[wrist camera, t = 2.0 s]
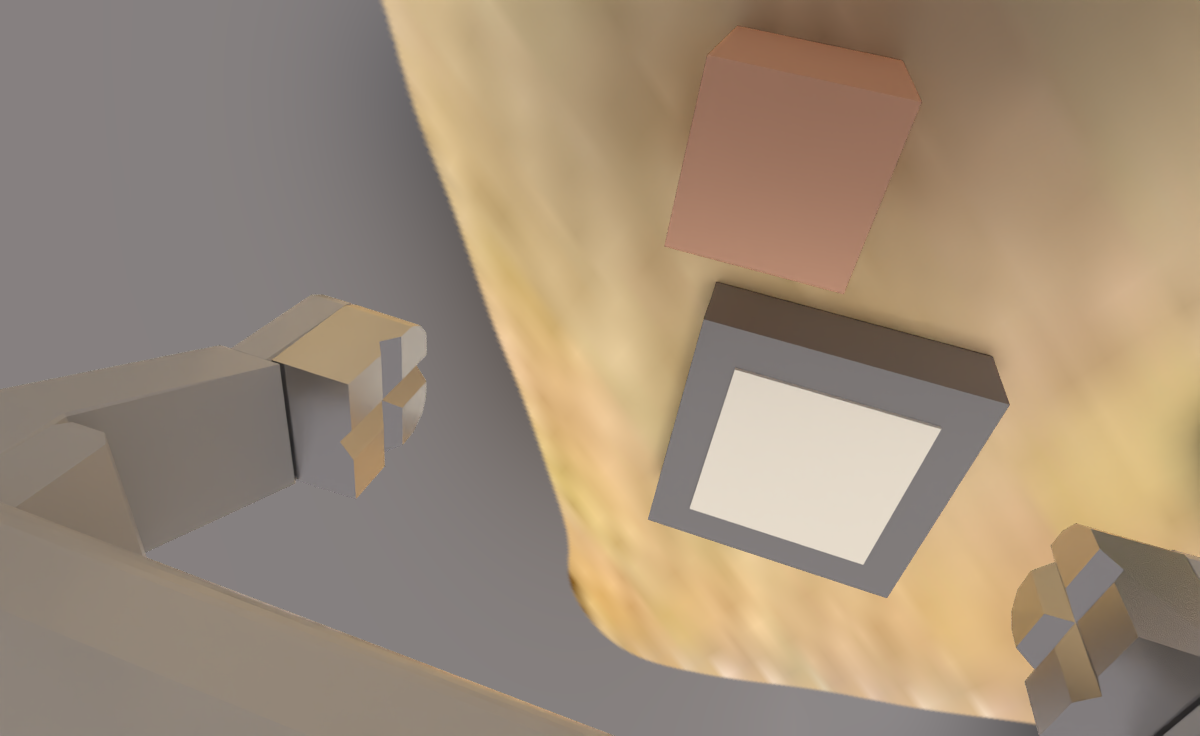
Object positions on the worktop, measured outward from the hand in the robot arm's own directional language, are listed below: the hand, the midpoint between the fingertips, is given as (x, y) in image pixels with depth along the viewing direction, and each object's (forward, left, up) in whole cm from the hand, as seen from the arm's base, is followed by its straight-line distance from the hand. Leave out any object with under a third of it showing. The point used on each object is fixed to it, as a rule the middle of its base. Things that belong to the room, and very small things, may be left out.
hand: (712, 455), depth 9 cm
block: (0, 0, -17) cm, 17 cm away
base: (+11, +4, -17) cm, 20 cm away
